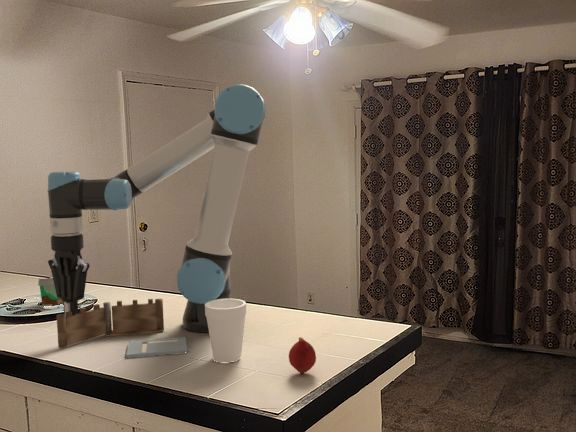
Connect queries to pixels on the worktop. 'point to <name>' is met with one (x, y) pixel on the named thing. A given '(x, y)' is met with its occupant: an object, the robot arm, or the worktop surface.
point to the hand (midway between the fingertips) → (71, 326)
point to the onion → (302, 356)
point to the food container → (48, 292)
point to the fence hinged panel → (80, 326)
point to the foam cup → (226, 328)
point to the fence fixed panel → (134, 318)
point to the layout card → (156, 347)
